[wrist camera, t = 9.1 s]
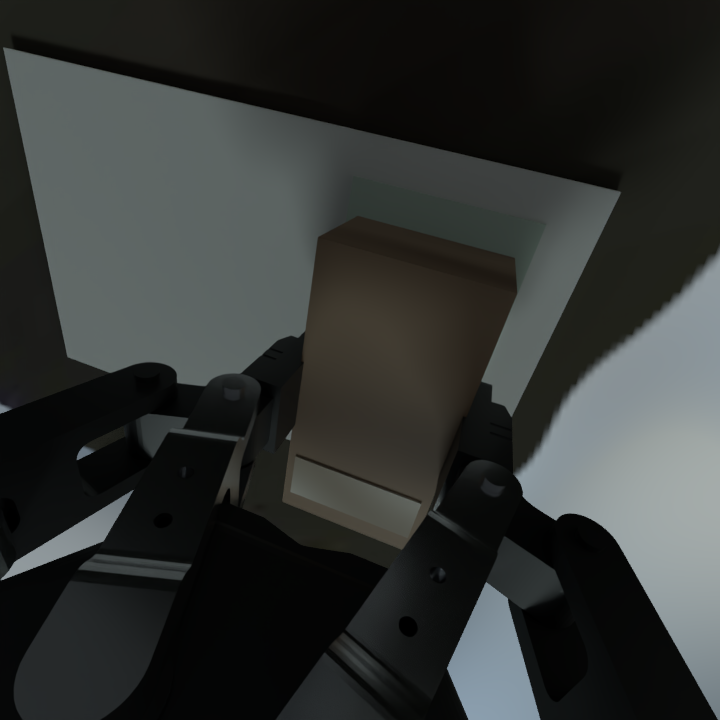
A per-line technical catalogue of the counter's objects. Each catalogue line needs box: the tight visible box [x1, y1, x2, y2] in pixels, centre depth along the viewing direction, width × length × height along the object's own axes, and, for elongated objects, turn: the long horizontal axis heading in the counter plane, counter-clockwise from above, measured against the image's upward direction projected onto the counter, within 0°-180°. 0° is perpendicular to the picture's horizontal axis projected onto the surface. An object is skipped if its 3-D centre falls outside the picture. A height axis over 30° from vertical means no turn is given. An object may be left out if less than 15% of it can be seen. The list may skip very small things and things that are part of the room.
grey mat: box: [3, 48, 621, 440], centre depth 16 cm, size 21×13×1 cm, turn 79°
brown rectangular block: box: [282, 216, 517, 549], centre depth 13 cm, size 9×4×3 cm, turn 169°
